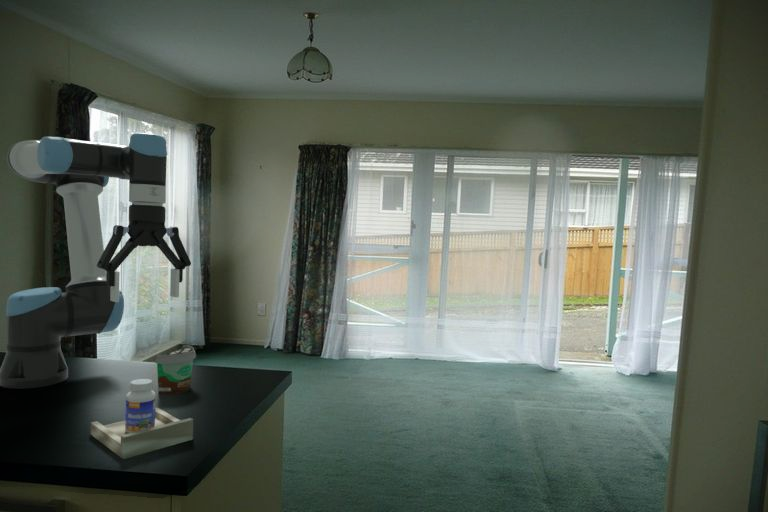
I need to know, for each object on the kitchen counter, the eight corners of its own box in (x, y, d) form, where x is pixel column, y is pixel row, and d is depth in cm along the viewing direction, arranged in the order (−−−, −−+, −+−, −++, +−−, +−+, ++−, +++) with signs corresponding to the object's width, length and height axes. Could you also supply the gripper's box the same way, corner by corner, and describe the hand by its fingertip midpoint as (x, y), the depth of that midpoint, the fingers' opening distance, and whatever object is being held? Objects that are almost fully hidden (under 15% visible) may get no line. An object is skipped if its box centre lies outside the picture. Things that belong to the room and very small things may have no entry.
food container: (177, 398, 131) (178, 357, 131) (154, 395, 132) (155, 355, 132) (204, 384, 143) (205, 346, 143) (183, 381, 144) (184, 344, 144)
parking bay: (90, 434, 108) (90, 414, 108) (156, 418, 118) (157, 400, 118) (123, 459, 98) (123, 437, 98) (192, 439, 108) (193, 419, 108)
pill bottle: (124, 436, 105) (125, 386, 104) (125, 426, 110) (126, 378, 109) (155, 433, 107) (156, 384, 106) (154, 423, 112) (155, 376, 111)
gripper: (94, 201, 110) (93, 305, 111) (207, 207, 129) (204, 296, 130) (80, 201, 115) (79, 301, 116) (190, 207, 134) (189, 293, 135)
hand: (145, 299), depth 123 cm, fingers open, 13 cm apart
